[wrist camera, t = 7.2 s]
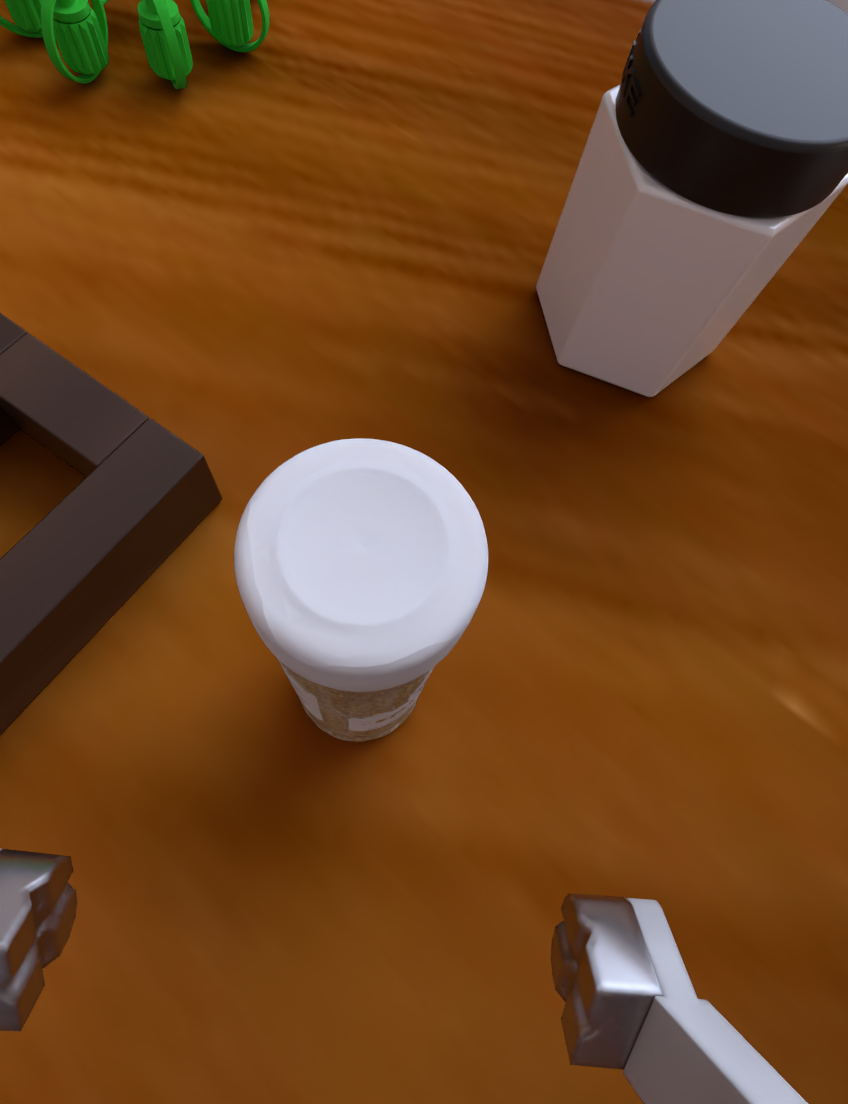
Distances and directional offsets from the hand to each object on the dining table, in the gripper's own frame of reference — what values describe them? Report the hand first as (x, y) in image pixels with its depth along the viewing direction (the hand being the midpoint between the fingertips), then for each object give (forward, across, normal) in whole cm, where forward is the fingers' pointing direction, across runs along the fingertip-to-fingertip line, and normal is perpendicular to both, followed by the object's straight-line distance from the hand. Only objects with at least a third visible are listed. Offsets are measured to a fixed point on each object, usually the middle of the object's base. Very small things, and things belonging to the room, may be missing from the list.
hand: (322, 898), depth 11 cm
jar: (+25, -11, -8) cm, 29 cm away
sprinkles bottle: (+12, 0, +4) cm, 13 cm away
